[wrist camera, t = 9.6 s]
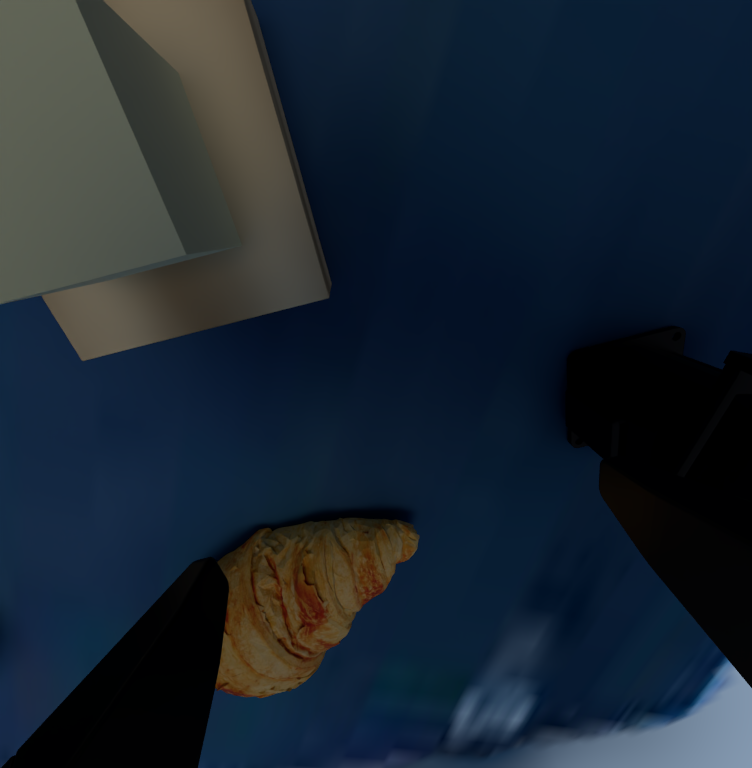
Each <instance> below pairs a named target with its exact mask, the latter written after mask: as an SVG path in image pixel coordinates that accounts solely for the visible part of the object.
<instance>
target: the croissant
mask: <svg viewBox="0 0 752 768" xmlns="http://www.w3.org/2000/svg"><path fill="white" fill-rule="evenodd" d="M418 540H419V535H417V532H416V530H415V529H413V525H412V524H409V523H407V522H404V521H400V520H397V519H395V520H388V519H364V518H344V519H342V518H339V519H337V520H331V521H319V522H313V521H309V522H306V523H302V524H298V525H294V526H289V527H282V528H278V529H276V530H274V531H272V530H271V529H270V528H264V529H260V530H258V531H257V532H256V533H254V534H253V535H252V536H251V537H250V538H249V539H248V540H247V541H246V542H245V543H244V544H242V545H241V546H240V547H238V548H237V549H236V550H235V551H233V552H230V553H228V554H227V555H225V556H224V557H223V558H221V559H220V560H219V561H218V562H217V563H218V565H219V566H220V568H221V569H222V571H223V573H224V574H225V576H226V578H227V580H228V583H229V597H228V605H227V613H226V621H225V629H224V637H223V645H222V653H221V660H220V666H219V671H218V676H217V681H216V686H215V688H216V689H217V691H218V690H223V691H224V692H226V693H228V694H233V695H235V696H243V697H252V696H256V697H259V698H263V697H267V696H270V695H273V694H275V693H280V692H284V691H291V690H292V688H296V687H298V686H299V685H301V684H302V683H304V682H305V681H306V680H307V679H308V678H310V677H311V676H312V675H313V674H314V673H315V671H316V670H317V669H318V667H319V665H320V663H321V661H322V660H323V657H324V655H325V652H326V650H328V649H330V648H331V647H333V646H335V645H337V644H339V643H340V640H341V639H343V638H344V637H345V636H346V635H347V633H348V632H349V630H350V628H351V625H352V620H353V619H354V618H355V614H356V612H357V611H359V610H360V609H361V608H362V606H363V605H364V604H365V603H367V602H368V601H369V600H371V599H372V598H374V597H375V596H377V595H379V594H381V593H382V592H383V591H384V590H385V589H386V587H387V585H388V583H389V582H390V580H391V577H392V576H393V574H394V573H395V566H396V564H397V563H400V562H404V561H406V560H408V559H409V558H410V557H411V556H412V555H413V554H414V553H415V551H416V550H417V546H418Z"/></svg>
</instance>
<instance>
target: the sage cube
mask: <svg viewBox="0 0 752 768" xmlns="http://www.w3.org/2000/svg"><path fill="white" fill-rule="evenodd" d="M239 246H242V244H241V241H240V238H239V236H238V233H237V230H236V228H235V225H234V222H233V219H232V217H231V214H230V211H229V209H228V206H227V203H226V201H225V198H224V195H223V192H222V190H221V187H220V184H219V182H218V179H217V176H216V173H215V171H214V168H213V165H212V163H211V160H210V157H209V155H208V152H207V149H206V146H205V144H204V141H203V138H202V136H201V133H200V130H199V128H198V125H197V122H196V119H195V117H194V114H193V111H192V109H191V106H190V103H189V100H188V98H187V95H186V92H185V90H184V87H183V84H182V82H181V79H180V76H179V73H178V72H177V71H176V70H175V69H174V68H173V67H172V66H171V65H170V64H169V63H168V62H167V61H165V60H164V59H163V58H162V57H161V56H160V55H159V54H158V53H157V52H156V51H155V50H154V49H153V48H152V47H151V46H150V45H149V44H148V43H147V42H146V41H145V40H144V39H143V38H142V37H141V36H140V35H138V34H137V33H136V32H135V31H134V30H133V29H132V28H131V27H130V26H129V25H128V24H127V23H126V22H125V21H124V20H123V19H122V18H121V17H120V16H119V15H118V14H117V13H116V12H115V11H114V10H113V9H111V8H110V7H109V6H108V5H107V4H106V3H105V2H104V1H103V0H0V304H4V303H8V302H13V301H18V300H22V299H27V298H31V297H36V296H40V295H45V294H50V293H54V292H59V291H63V290H68V289H72V288H77V287H82V286H86V285H91V284H95V283H100V282H104V281H109V280H113V279H117V278H121V277H124V276H128V275H132V274H136V273H140V272H144V271H147V270H151V269H155V268H159V267H163V266H167V265H170V264H174V263H178V262H182V261H186V260H190V259H193V258H197V257H201V256H205V255H209V254H213V253H216V252H220V251H224V250H228V249H232V248H235V247H239Z"/></svg>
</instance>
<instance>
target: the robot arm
mask: <svg viewBox="0 0 752 768" xmlns="http://www.w3.org/2000/svg"><path fill="white" fill-rule="evenodd" d="M674 334H675V335H674ZM673 335H674V337H673ZM685 335H686V333H685V330H684V329H683V328H680V327H677V326H670V327H666V328H662V329H658V330H654V331H650V332H646V333H643V334H639V335H635V336H631V337H627V338H623V339H619V340H615V341H611V342H607V343H603V344H599V345H595V346H591V347H587V348H583V349H579V350H575V351H573V352H572V353H571V354H570V355H569V356H568V360H567V390H566V426H567V427H568V442H569V443H570V444H571V445H572V446H573V447H575V448H580V447H584V446H589V447H591V448H592V449H593V450H594V451H595V452H596V453H597V454H599V455H600V456H601V457H602V458H603V460H602V461H601V463H600V474H599V490H600V493H601V496H602V498H603V499H604V501H605V502H606V504H607V505H608V506H609V508H610V509H611V511H612V512H613V514H614V515H615V517H616V518H617V520H618V521H619V522H620V524H621V525H622V527H623V528H624V530H625V531H626V533H627V534H628V536H629V537H630V538H631V540H632V541H633V543H634V544H635V546H636V547H637V549H638V550H639V552H640V553H641V554H642V556H643V557H644V558H645V560H646V561H647V562H648V564H649V565H650V566H651V567H652V569H653V570H654V571H655V572H656V574H657V575H658V576H659V577H660V578H661V580H662V581H663V582H664V583H665V584H666V586H667V587H668V588H669V589H670V590H671V592H672V593H673V594H674V595H675V596H676V598H677V599H678V600H679V601H680V602H681V604H682V605H683V606H684V607H685V608H686V610H687V611H688V612H689V613H690V614H691V616H692V617H693V618H694V619H695V620H696V622H697V623H698V624H699V625H700V626H701V628H702V629H703V630H704V631H705V632H706V634H707V635H708V636H709V637H710V638H711V640H712V641H713V642H714V643H715V644H716V646H717V647H718V648H719V649H720V650H721V652H722V653H723V654H724V655H725V656H726V658H727V659H728V660H729V661H730V662H731V664H732V665H733V666H734V667H735V668H736V670H737V671H738V672H739V673H740V674H741V676H742V677H743V678H744V679H745V681H746V682H747V683H748V684H749V685H750V687H751V688H752V354H749V353H743V352H737V351H730V352H729V354H728V356H727V357H726V359H725V361H724V362H723V363H725V364H726V365H725V366H724V368H723V370H722V369H719V368H716V367H714V366H711V365H708V364H705V363H703V362H700V361H697V360H694V359H692V358H689V357H686V356H684V355H683V349H684V342H685ZM672 337H673V338H672ZM578 357H580V360H579V361H578V362H576V359H577V358H578ZM578 438H579V439H578ZM577 439H578V440H577ZM576 440H577V441H576ZM228 597H229V583H228V580H227V578H226V576H225V574H224V573H223V571H222V569H221V568H220V566H219V565H218V563H217V561H216V560H215V559H214V558H212V557H208V558H204V559H200V560H196V561H194V562H193V563H192V564H190V565H189V567H188V568H187V569H186V570H185V571H184V572H183V573H182V574H181V575H180V576H179V577H178V578H177V579H176V581H175V582H174V583H173V584H172V585H171V586H170V587H169V588H168V589H167V590H166V591H165V592H164V593H163V594H162V596H161V597H160V598H159V599H158V600H157V601H156V602H155V603H154V604H153V605H152V606H151V607H150V608H149V610H148V611H147V612H146V613H145V614H144V615H143V616H142V617H141V618H140V619H139V620H138V621H137V622H136V624H135V625H134V626H133V627H132V628H131V629H130V630H129V631H128V632H127V633H126V634H125V635H124V636H123V638H122V639H121V640H120V641H119V642H118V643H117V644H116V645H115V646H114V647H113V648H112V649H111V650H110V651H109V653H108V654H107V655H106V656H105V657H104V658H103V659H102V660H101V661H100V662H99V663H98V664H97V665H96V667H95V668H94V669H93V670H92V671H91V672H90V673H89V674H88V675H87V676H86V677H85V678H84V679H83V680H82V682H81V683H80V684H79V685H78V686H77V687H76V688H75V689H74V690H73V691H72V692H71V693H70V694H69V696H68V697H67V698H66V699H65V700H64V701H63V702H62V703H61V704H60V705H59V706H58V707H57V708H56V709H55V711H54V712H53V713H52V714H51V715H50V716H49V717H48V718H47V719H46V720H45V721H44V722H43V723H42V725H41V726H40V727H39V728H38V729H37V730H36V731H35V732H34V733H33V734H32V735H31V736H30V737H29V738H28V740H27V741H26V742H25V743H24V744H23V745H22V746H21V747H20V748H19V749H18V751H17V753H16V755H14V756H12V757H11V758H10V759H9V760H8V761H7V762H6V763H5V764H4V765H3V766H2V767H1V768H198V764H199V759H200V755H201V750H202V746H203V741H204V737H205V732H206V727H207V723H208V718H209V714H210V709H211V704H212V700H213V695H214V691H215V686H216V681H217V676H218V671H219V666H220V660H221V653H222V645H223V637H224V629H225V621H226V613H227V605H228Z"/></svg>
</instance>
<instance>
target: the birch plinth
mask: <svg viewBox="0 0 752 768" xmlns="http://www.w3.org/2000/svg"><path fill="white" fill-rule="evenodd" d="M103 1H104V2H105V3H106V4H107V5H108V6H109V7H110V8H111V9H113V10H114V11H115V12H116V13H117V14H118V15H119V16H120V17H121V18H122V19H123V20H124V21H125V22H126V23H127V24H128V25H129V26H130V27H131V28H132V29H133V30H134V31H135V32H136V33H137V34H138V35H140V36H141V37H142V38H143V39H144V40H145V41H146V42H147V43H148V44H149V45H150V46H151V47H152V48H153V49H154V50H155V51H156V52H157V53H158V54H159V55H160V56H161V57H162V58H163V59H164V60H165V61H167V62H168V63H169V64H170V65H171V66H172V67H173V68H174V69H175V70H176V71H177V72H178V73H179V76H180V79H181V82H182V84H183V87H184V90H185V92H186V95H187V98H188V100H189V103H190V106H191V109H192V111H193V114H194V117H195V119H196V122H197V125H198V128H199V130H200V133H201V136H202V138H203V141H204V144H205V146H206V149H207V152H208V155H209V157H210V160H211V163H212V165H213V168H214V171H215V173H216V176H217V179H218V182H219V184H220V187H221V190H222V192H223V195H224V198H225V201H226V203H227V206H228V209H229V211H230V214H231V217H232V219H233V222H234V225H235V228H236V230H237V233H238V236H239V238H240V241H241V244H242V246H239V247H235V248H232V249H228V250H224V251H220V252H216V253H213V254H209V255H205V256H201V257H197V258H193V259H190V260H186V261H182V262H178V263H174V264H170V265H167V266H163V267H159V268H155V269H151V270H147V271H144V272H140V273H136V274H132V275H128V276H124V277H121V278H117V279H113V280H109V281H104V282H100V283H95V284H91V285H86V286H82V287H77V288H72V289H68V290H63V291H59V292H54V293H50V294H45V295H41V296H42V298H43V299H44V301H45V302H46V304H47V306H48V307H49V309H50V310H51V312H52V314H53V315H54V317H55V318H56V320H57V321H58V323H59V325H60V326H61V328H62V329H63V331H64V333H65V334H66V336H67V337H68V339H69V341H70V342H71V344H72V345H73V347H74V349H75V350H76V352H77V353H78V355H79V357H80V358H81V360H82V361H84V360H88V359H92V358H96V357H100V356H104V355H108V354H112V353H116V352H120V351H124V350H128V349H131V348H135V347H139V346H143V345H147V344H151V343H155V342H159V341H163V340H167V339H171V338H175V337H178V336H182V335H186V334H190V333H194V332H198V331H202V330H206V329H210V328H214V327H218V326H222V325H225V324H229V323H233V322H237V321H241V320H245V319H249V318H253V317H257V316H261V315H265V314H268V313H272V312H276V311H280V310H284V309H288V308H292V307H296V306H300V305H304V304H308V303H312V302H315V301H319V300H323V299H327V298H329V296H330V290H331V285H332V283H331V279H330V276H329V272H328V269H327V265H326V262H325V258H324V254H323V251H322V247H321V244H320V240H319V237H318V233H317V229H316V226H315V222H314V219H313V215H312V211H311V208H310V204H309V201H308V197H307V194H306V190H305V186H304V183H303V179H302V176H301V172H300V168H299V165H298V161H297V158H296V154H295V151H294V147H293V143H292V140H291V136H290V133H289V129H288V125H287V122H286V118H285V115H284V111H283V108H282V104H281V100H280V97H279V93H278V90H277V86H276V82H275V79H274V75H273V72H272V68H271V65H270V61H269V57H268V54H267V50H266V47H265V43H264V39H263V36H262V32H261V29H260V25H259V22H258V18H257V15H256V13H255V10H254V8H253V5H252V3H251V0H103Z"/></svg>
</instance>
